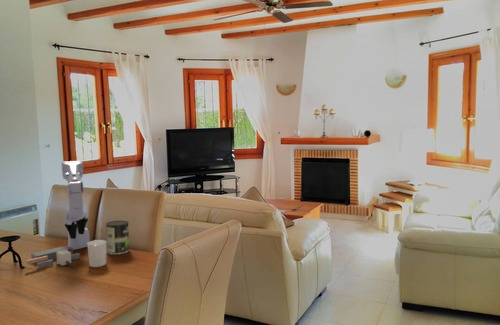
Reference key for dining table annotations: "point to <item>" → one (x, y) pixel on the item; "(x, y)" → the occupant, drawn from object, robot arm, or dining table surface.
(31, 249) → the dining table surface
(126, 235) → the coffee can
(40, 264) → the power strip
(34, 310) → the dining table surface
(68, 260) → the plug
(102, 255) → the white cup
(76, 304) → the dining table surface
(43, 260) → the latch
